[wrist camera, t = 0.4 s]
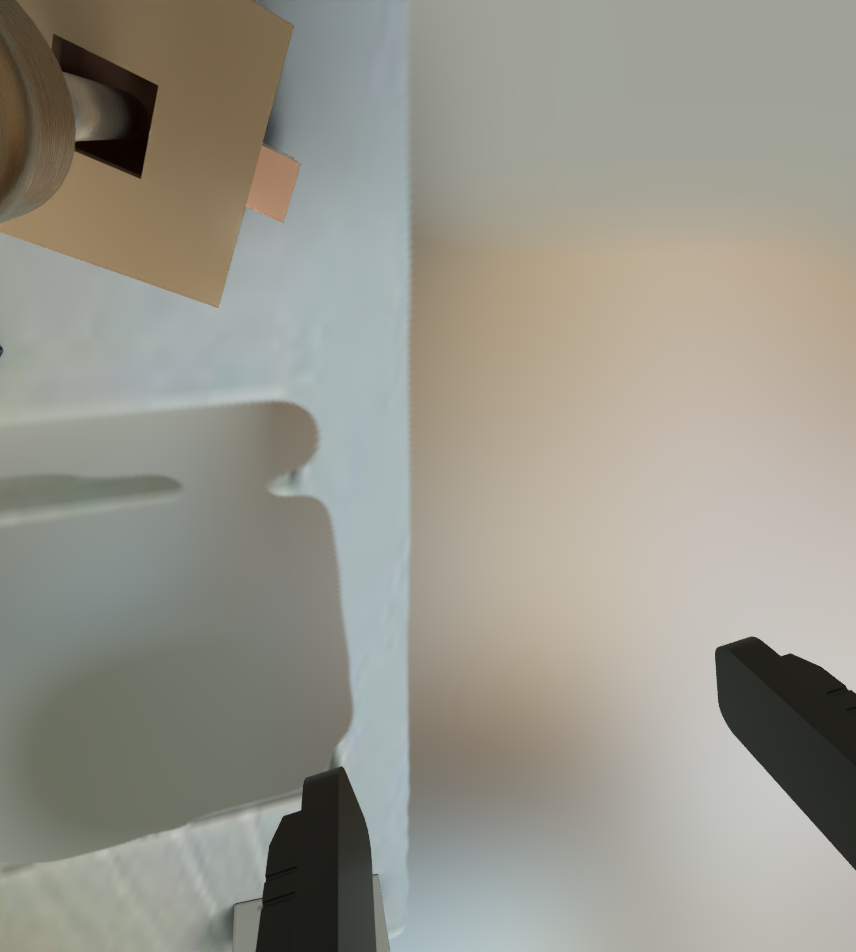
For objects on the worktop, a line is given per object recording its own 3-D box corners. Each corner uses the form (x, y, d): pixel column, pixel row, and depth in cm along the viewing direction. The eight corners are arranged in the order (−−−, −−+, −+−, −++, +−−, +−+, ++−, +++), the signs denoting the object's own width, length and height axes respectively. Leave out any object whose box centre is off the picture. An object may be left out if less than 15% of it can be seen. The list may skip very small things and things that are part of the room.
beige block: (50, 171, 30) (-97, 198, 18) (76, -45, 26) (-89, -203, 14) (259, 255, 35) (257, 321, 23) (309, 84, 31) (339, 52, 19)
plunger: (59, 143, 21) (-507, 174, 6) (73, 26, 19) (-662, -388, 4) (169, 190, 23) (-32, 313, 7) (190, 85, 21) (-6, -44, 6)
